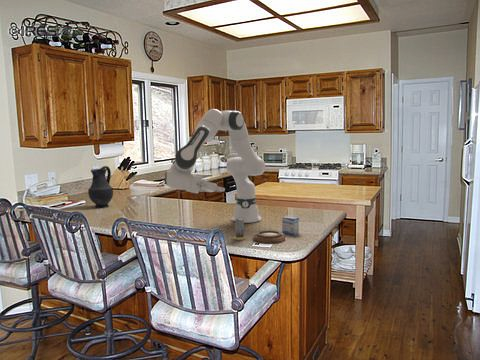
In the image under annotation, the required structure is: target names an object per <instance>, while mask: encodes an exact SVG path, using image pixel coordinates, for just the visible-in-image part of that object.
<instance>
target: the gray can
mask: <svg viewBox="0 0 480 360" xmlns="http://www.w3.org/2000/svg"><path fill="white" fill-rule="evenodd" d="M234 224H235V225H234V226H235V227H234V228H235V229H234V230H235V235H233V240H234V241H245V240H246V239H247V236H246V235H245V223H244V219H235V221H234Z"/></svg>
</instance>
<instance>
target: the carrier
mask: <svg viewBox="0 0 480 360" xmlns="http://www.w3.org/2000/svg"><path fill="white" fill-rule="evenodd" d="M285 240H286V234H285V233H282V231H278V230H272V229H270V230H269V229H265V230H260V231H257V232H256V233H253V241H254V242H257V243H261V244H278V243H282V242H284V241H285Z"/></svg>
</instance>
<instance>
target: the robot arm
mask: <svg viewBox="0 0 480 360" xmlns="http://www.w3.org/2000/svg"><path fill="white" fill-rule="evenodd" d="M244 117H245V116H244V115H243V114H242V112H241V111H238V110H219V109H215V108H210V109H208V110H207V111H206V113H205V114H203V116H202V117H201V119H200V120H199V121H198V123H197V125H196V126H195V129H194V133H193V135H192V136H191V138H190V139H189V140H188V142H187V143H186V144H185V145H184V146H182V147H181V148H179V149H178V150H177V151H176V153H175V160H174V163H172V165H171V166H170V168H168V169H167V170H166V171H165V173H164V184H165V185H166V186H167V187H168V188H169V187H170V188H171V189H175V190H178V191H182V190H183V191H186V192H188V193H192V194H197V195H198V194H199V192H201V193H202V192H205V193H213V192H218V193H222V192H225V190H226V188H225V187H222V186H218V183H215V182H210V181H206V180H205V179H204V178H203V176H200V175H196V174H192V172H193V171H194V167H195V165H196V162H197V158H198V151H199V150H200V148H201V147H202V145H204V143H209V142H211V141H212V140H213V139H214V137H215V136H216V135H217V134H218V131H224V132H226V131H228V135H229V139H230V144H231V148H232V151H233V152H234V153H235V154H237V155H238V156H235V157H231V158H229V159H227V161H226V170H227V172H228V173H229V174H230V175H231V176H232V177H233V179H234V182H235V186H236V200H235V203H236V204H235V206H234V207H233V217H232V218H230V220H231V221H233V222H235V219H244V224H245V223H249V224H250V223H256V222H262V221H263V220H262V217H261V216H260V213H259V207H258V205H257V197H256V186H255V184H254V182H252V181H251V180H250V178H249V176H250V177H251V176H252V177H253V176H255V177H256V176H261V175H263V174H264V172H265V171H266V162H265V161H264V159H263V158H261V157H260V156H259V155H258V154H257V152H255V151H254V149H253V147H252V145H251V140H250V136H249V135H250V134H249V132H248V128H247V125H246V122H245V118H244Z"/></svg>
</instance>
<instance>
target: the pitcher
mask: <svg viewBox="0 0 480 360" xmlns="http://www.w3.org/2000/svg"><path fill="white" fill-rule="evenodd" d="M90 172H91V175H92V183H91V185H90V187H89V188H88V191H87V192H88V194H87V195H88V198H89V200H91V202H92V203H93V204H95V206H94V208H96V209H102V208H108V207H109V203H110V202H111V201H112V199H113V197H114V188H113V187H112V185H110V182H111V177H112V176H111V175H112V173H111V172H112V171H111V168H110V166H108V165H103V166H102V167H100V168H91V169H90ZM106 173H107V177H106Z"/></svg>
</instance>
